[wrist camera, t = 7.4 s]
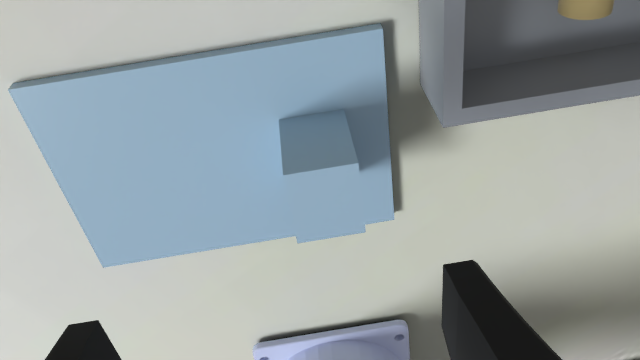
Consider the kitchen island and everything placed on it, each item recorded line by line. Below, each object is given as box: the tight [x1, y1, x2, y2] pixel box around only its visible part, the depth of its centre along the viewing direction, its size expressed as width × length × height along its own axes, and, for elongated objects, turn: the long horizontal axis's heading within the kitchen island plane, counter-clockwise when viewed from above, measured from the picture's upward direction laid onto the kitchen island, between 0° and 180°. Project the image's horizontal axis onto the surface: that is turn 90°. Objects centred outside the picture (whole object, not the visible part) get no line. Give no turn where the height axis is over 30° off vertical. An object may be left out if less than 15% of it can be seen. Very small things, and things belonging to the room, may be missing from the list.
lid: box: [8, 23, 394, 268], centre depth 20 cm, size 9×13×4 cm
